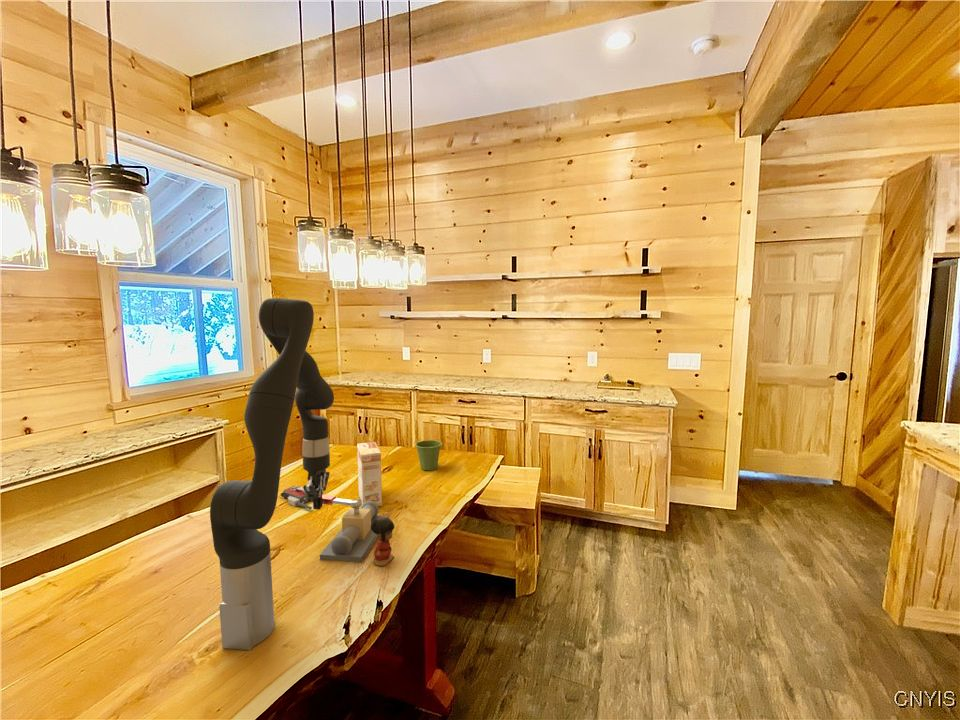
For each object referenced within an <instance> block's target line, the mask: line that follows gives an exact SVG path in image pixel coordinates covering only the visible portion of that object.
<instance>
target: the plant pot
mask: <svg viewBox="0 0 960 720" xmlns="http://www.w3.org/2000/svg"><path fill="white" fill-rule="evenodd" d="M414 445H415V447H416V451H417V453H418V459H419V465H420V469H421V471H434V470H436V469H437V468H438V466H439V465H438V464H439V457H440V451H441V447H442V445H443V442H441V441H439V440H435V439H426V440H420V441H417V442H416V443H415V444H414Z"/></svg>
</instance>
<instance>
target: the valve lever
mask: <svg viewBox="0 0 960 720" xmlns="http://www.w3.org/2000/svg"><path fill="white" fill-rule="evenodd" d="M334 504H335V505H342V506H350V508H362V500H361V499H360V498H355V499H346V498H340V497H339V498H338V497H337V496H336V495H331V494H324V493H323V495H322V505H327V506H328V505H329V506H333V505H334Z"/></svg>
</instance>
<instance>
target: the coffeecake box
mask: <svg viewBox="0 0 960 720" xmlns="http://www.w3.org/2000/svg"><path fill="white" fill-rule="evenodd" d="M356 444H357V445H356V447H357V453H356V454H357V476H358V477H357V479H358V480H357V481H358V486H357V487H358V496H359V499H361V500H362V506H363V504H364V503H365V502H367V501H373V502H375V503H376V504H377V505H378V507H382V506H383V495H382V494H383V493H382V490H383V489H382V483H383V482H382V453H381V450H380V448H379V446H378V444H377V442H376V441H370V442H368V441H367V442H362V443H361V442H360V443H356ZM362 506H361V507H362Z"/></svg>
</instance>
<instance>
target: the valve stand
mask: <svg viewBox="0 0 960 720" xmlns="http://www.w3.org/2000/svg"><path fill="white" fill-rule="evenodd" d="M379 510H380V508H379V506H378V505H377V504H376V503H375V502H373V501H367V502H365V503H364V504H363V506H361V507H359V508H352V507H350V508H349V509H348V510H347V512H346V513H345V514H344V515H343V516H342V517H341V524H342V526H341V527H342V528H341V529H340V530H339V531H338V532H337V534H336V535H335V536H334V537H333V538H332V540H330V542H329V543H328V544H327V545H326V546H325V548H324V549H323V550H322V552H320V554H319V561H334V562H348V563H349V562H352V563H362V562H363V561H364V559H365V558H366V556H367V555H368V553H369V552H370V551H371V549H372V548H373V545H374V544H375V542H377V540H378V539H379V535H378V534H375V533H374V532H373V531H372V530H371V525H372V523H373V520H374V519H381V518H389V519H390V516H389V515H386V514H385V515H383V514H382V515H381V514H379Z"/></svg>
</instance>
